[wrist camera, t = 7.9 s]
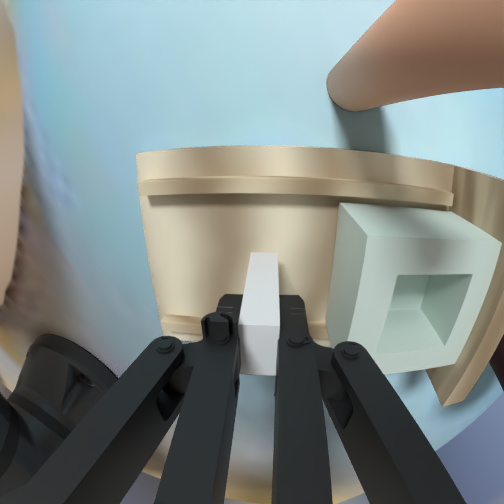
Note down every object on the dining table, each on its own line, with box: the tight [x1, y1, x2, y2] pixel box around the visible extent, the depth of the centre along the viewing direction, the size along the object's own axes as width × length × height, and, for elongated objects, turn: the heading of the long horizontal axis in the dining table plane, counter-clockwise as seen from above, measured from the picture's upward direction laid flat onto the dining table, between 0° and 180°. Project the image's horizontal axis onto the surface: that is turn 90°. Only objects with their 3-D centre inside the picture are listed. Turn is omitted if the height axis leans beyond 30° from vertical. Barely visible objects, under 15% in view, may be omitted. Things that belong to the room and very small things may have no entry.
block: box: [325, 202, 502, 375], centre depth 14 cm, size 8×8×6 cm
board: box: [136, 145, 504, 407], centre depth 15 cm, size 22×14×8 cm, turn 90°
